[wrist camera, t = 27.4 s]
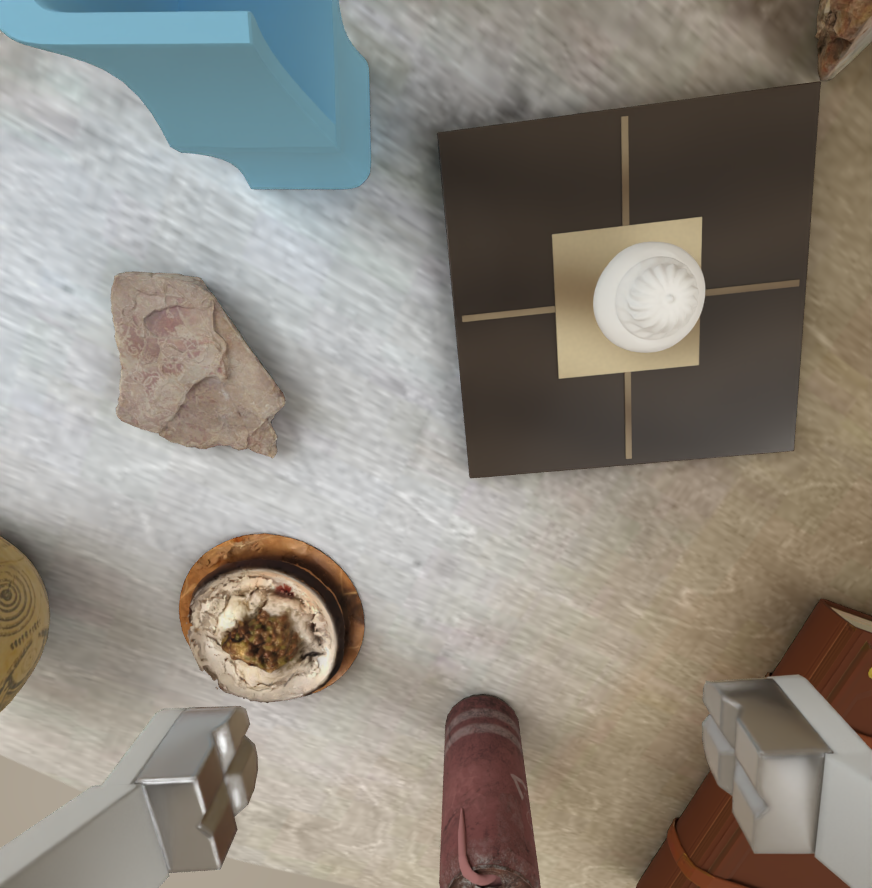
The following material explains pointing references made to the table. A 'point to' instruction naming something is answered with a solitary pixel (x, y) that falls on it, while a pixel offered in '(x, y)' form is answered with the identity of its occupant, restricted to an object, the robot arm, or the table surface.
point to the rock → (841, 34)
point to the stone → (189, 366)
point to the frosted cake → (270, 617)
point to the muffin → (649, 297)
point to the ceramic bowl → (20, 620)
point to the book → (710, 811)
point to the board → (592, 248)
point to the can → (485, 800)
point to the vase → (227, 78)
